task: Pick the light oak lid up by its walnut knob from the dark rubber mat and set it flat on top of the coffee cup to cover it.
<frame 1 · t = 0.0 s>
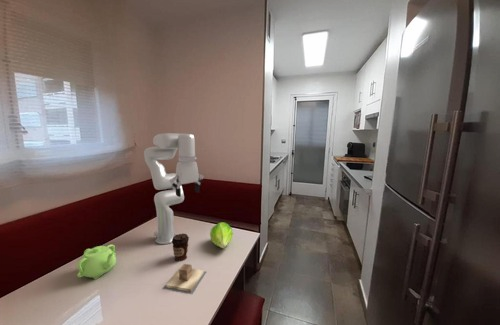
hand: (188, 194, 97), 37 cm above the table, tool pointing down, fingers open, 9 cm apart
lid: (185, 279, 90), point 1 cm above the table, touching mat
teapot: (100, 272, 95), on the table
lettuce: (221, 246, 119), on the table
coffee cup: (181, 259, 106), on the table
mat: (185, 280, 90), on the table
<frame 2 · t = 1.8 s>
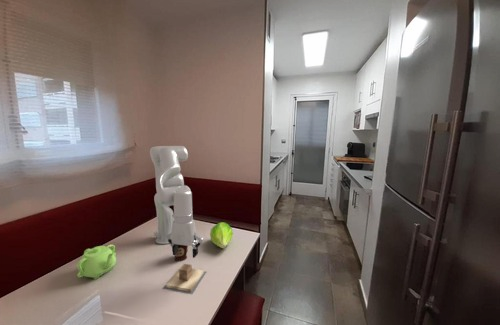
hand: (185, 254, 88), 13 cm above the table, tool pointing down, fingers open, 9 cm apart
nothing on the table moved.
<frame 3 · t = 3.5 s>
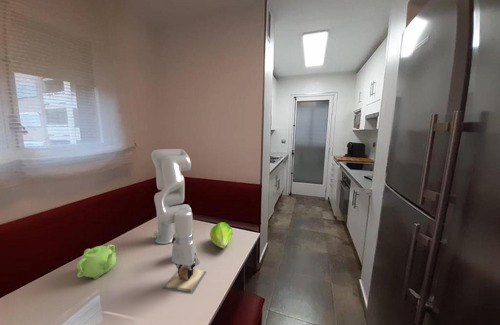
hand: (185, 275, 90), 3 cm above the table, tool pointing down, fingers closed on lid, 4 cm apart
lid: (185, 279, 90), point 1 cm above the table, touching gripper, mat
everything else where it was.
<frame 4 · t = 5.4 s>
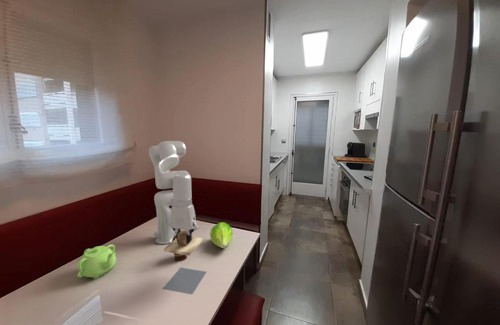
hand: (184, 241, 88), 19 cm above the table, tool pointing down, fingers closed on lid, 4 cm apart
lid: (184, 245, 88), point 17 cm above the table, touching gripper
everything else where it was.
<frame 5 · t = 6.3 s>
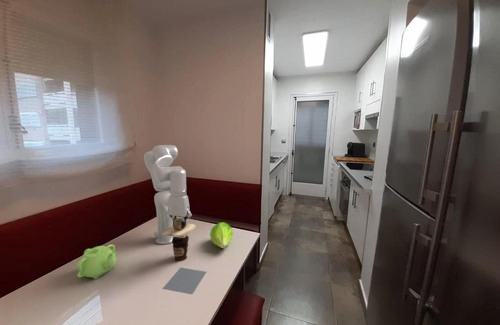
hand: (179, 226, 103), 19 cm above the table, tool pointing down, fingers closed on lid, 4 cm apart
lid: (179, 230, 103), point 17 cm above the table, touching gripper
everything else where it was.
when the fingers open (17 cm above the table, at t = 7.3 s): lid drops 2 cm, resting on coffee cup.
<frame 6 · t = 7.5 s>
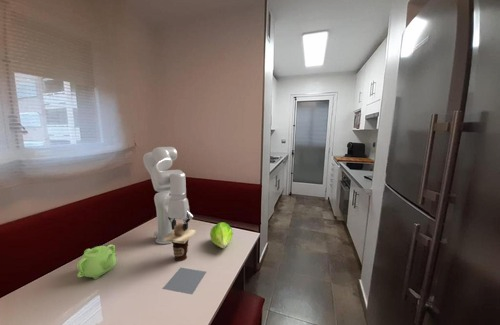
hand: (179, 229, 103), 17 cm above the table, tool pointing down, fingers open, 6 cm apart
lid: (180, 236, 104), point 13 cm above the table, touching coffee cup
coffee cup: (181, 259, 106), on the table, touching lid
everything else where it was.
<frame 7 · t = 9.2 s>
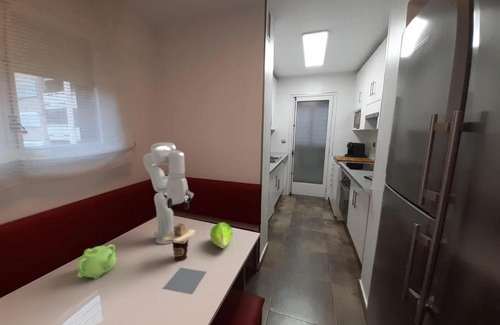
hand: (178, 208, 102), 28 cm above the table, tool pointing down, fingers open, 9 cm apart
nothing on the table moved.
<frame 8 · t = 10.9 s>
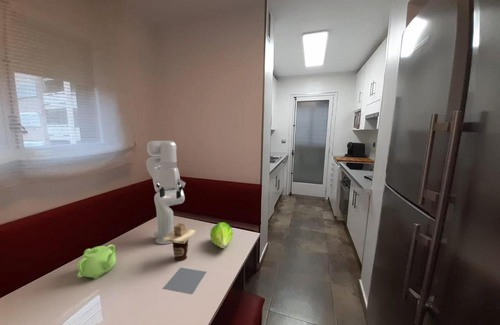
hand: (170, 197, 104), 33 cm above the table, tool pointing down, fingers open, 9 cm apart
nothing on the table moved.
at the end: lid 0.1 cm from the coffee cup (horizontally); lid point 13.0 cm above the table; lid tilted 0° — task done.
